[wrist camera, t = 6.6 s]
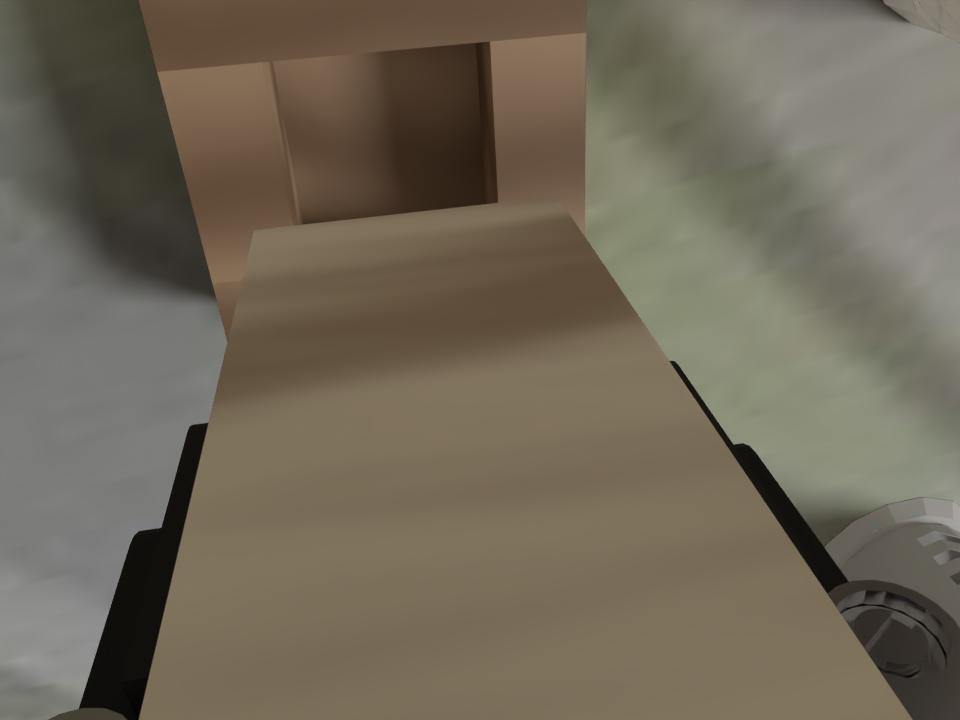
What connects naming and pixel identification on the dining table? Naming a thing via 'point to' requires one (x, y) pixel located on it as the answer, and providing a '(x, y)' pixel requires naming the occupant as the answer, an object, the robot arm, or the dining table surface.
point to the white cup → (931, 15)
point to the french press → (906, 549)
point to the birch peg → (478, 502)
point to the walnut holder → (366, 111)
